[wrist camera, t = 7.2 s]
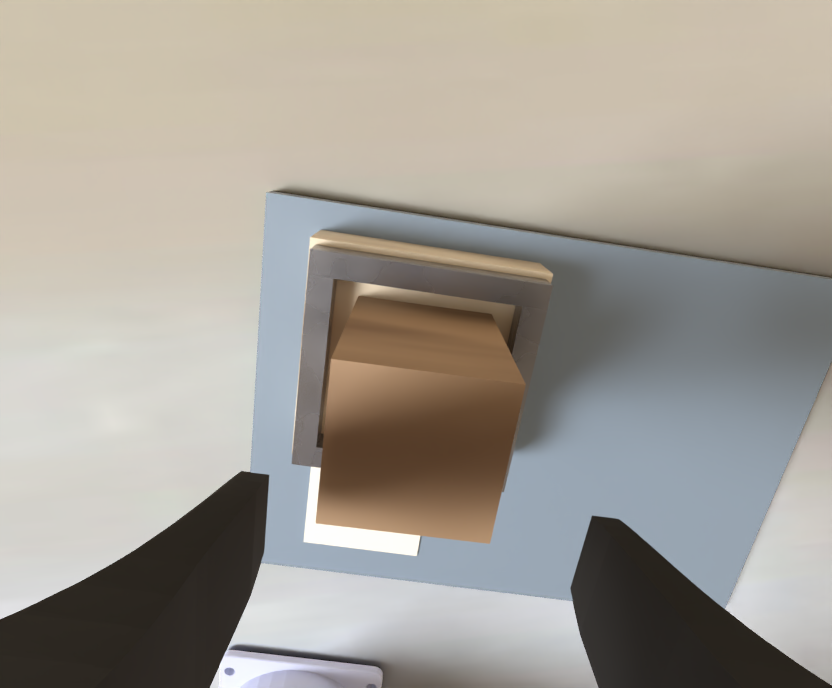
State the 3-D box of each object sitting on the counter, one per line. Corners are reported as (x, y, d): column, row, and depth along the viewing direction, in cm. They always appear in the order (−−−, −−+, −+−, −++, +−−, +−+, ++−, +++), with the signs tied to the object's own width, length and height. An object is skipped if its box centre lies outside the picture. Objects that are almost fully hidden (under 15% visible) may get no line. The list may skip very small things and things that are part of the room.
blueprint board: (711, 605, 26) (759, 678, 22) (250, 548, 24) (221, 615, 21) (848, 280, 20) (940, 305, 17) (272, 191, 19) (238, 197, 16)
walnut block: (468, 431, 19) (490, 544, 14) (345, 416, 19) (315, 523, 14) (491, 314, 18) (525, 384, 12) (358, 295, 18) (330, 358, 12)
